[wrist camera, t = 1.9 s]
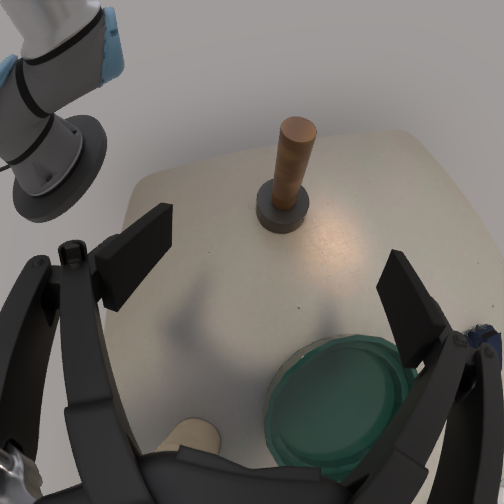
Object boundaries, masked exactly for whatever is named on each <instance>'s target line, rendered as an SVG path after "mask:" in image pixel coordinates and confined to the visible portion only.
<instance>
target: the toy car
mask: <svg viewBox="0 0 504 504" xmlns="http://www.w3.org/2000/svg"><path fill="white" fill-rule="evenodd" d="M478 326H479V324H478V325H476V327H475V328H474V329H472V330H468V331H466V336H465V337H466V338H467V340H468V342H469V346H470V347H472V348H475V349H478V347H479V346H480V345H481V344H482V343H483V342H486V343H489V344H490V345H492V346H493V347H494V348H495V350H496V351H497V354H498V357H499V364H500V371H501V370H502V340H501V332H500V333H498V332H497V331H496V330H495V329H494V328H493V326H491V325H488V324H484V325H482V326H480V327H478ZM468 332H469V333H468Z"/></svg>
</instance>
